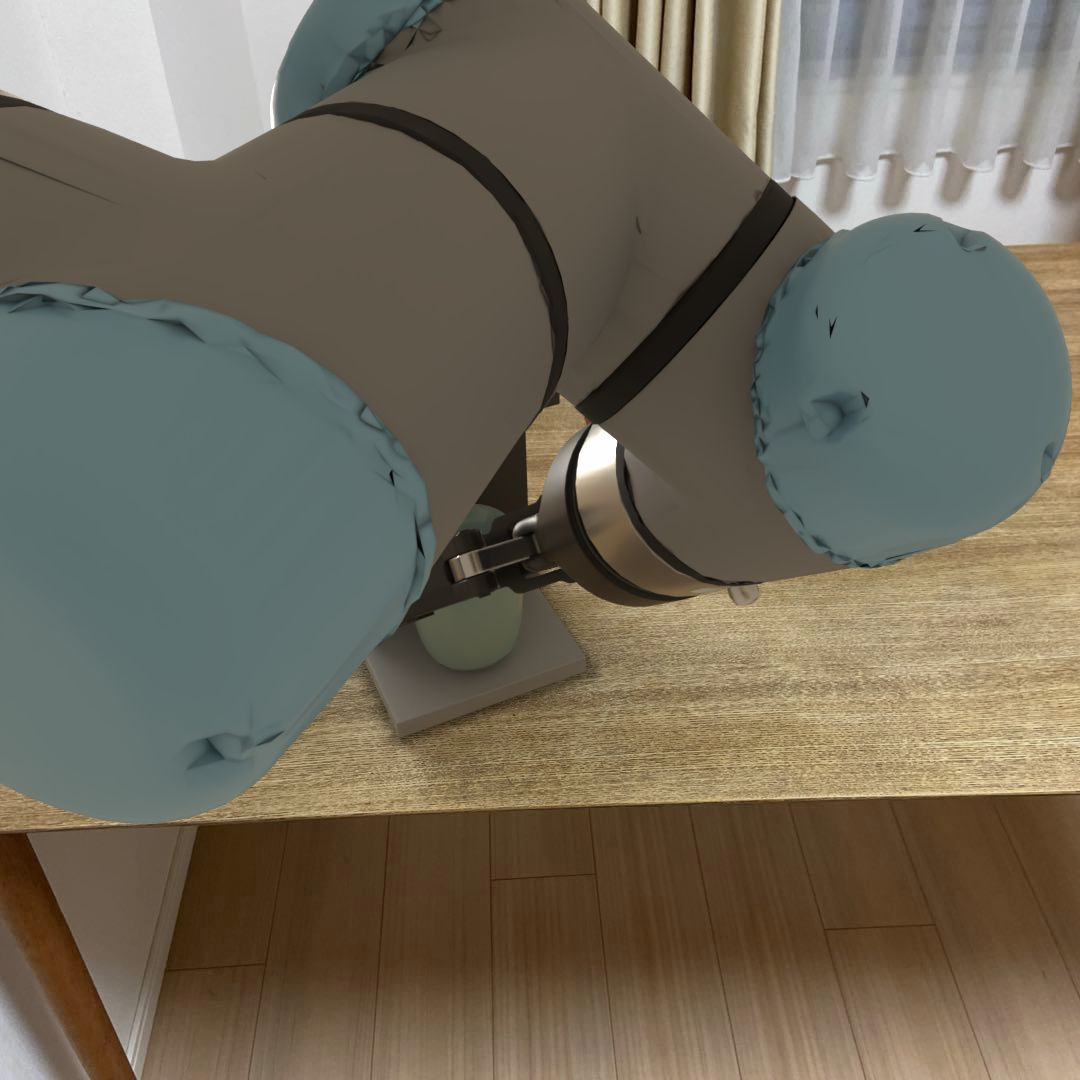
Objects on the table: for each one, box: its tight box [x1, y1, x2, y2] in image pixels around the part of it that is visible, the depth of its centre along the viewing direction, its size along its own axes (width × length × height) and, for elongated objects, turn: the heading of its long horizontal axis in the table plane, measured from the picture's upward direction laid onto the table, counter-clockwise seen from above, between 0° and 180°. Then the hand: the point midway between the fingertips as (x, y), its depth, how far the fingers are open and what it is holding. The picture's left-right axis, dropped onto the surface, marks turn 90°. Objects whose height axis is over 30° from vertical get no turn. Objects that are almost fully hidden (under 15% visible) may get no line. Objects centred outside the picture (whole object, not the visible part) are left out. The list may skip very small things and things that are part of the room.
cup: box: [414, 504, 524, 671], centre depth 69 cm, size 8×8×10 cm
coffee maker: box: [363, 391, 587, 739], centre depth 67 cm, size 14×14×24 cm
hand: (513, 563), depth 56 cm, fingers open, 13 cm apart
